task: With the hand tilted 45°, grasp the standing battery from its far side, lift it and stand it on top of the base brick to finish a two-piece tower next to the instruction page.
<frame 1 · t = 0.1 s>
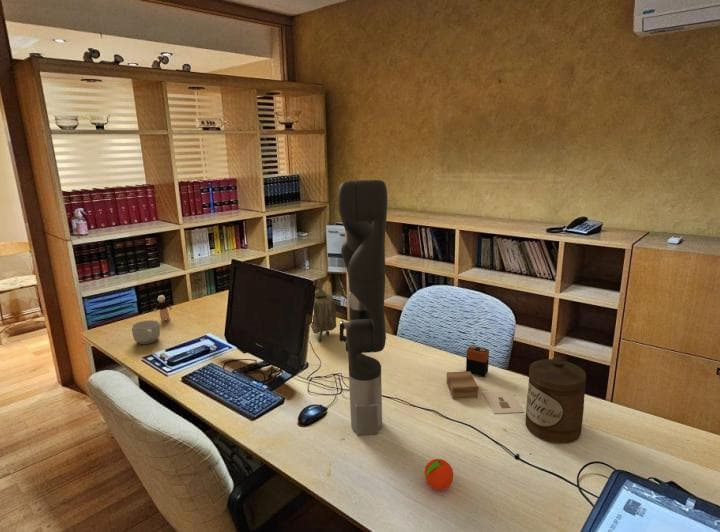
hand: (363, 351, 147), 17 cm above the table, tool pointing down, fingers open, 8 cm apart
grey brown tall figure: (323, 335, 201), on the table
instruction page: (502, 402, 148), on the table
clementine: (437, 487, 114), on the table
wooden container: (552, 428, 135), on the table
base brick: (461, 390, 156), on the table
grandmother figurine: (164, 321, 223), on the table
battery: (476, 373, 167), on the table
teacup: (148, 343, 200), on the table
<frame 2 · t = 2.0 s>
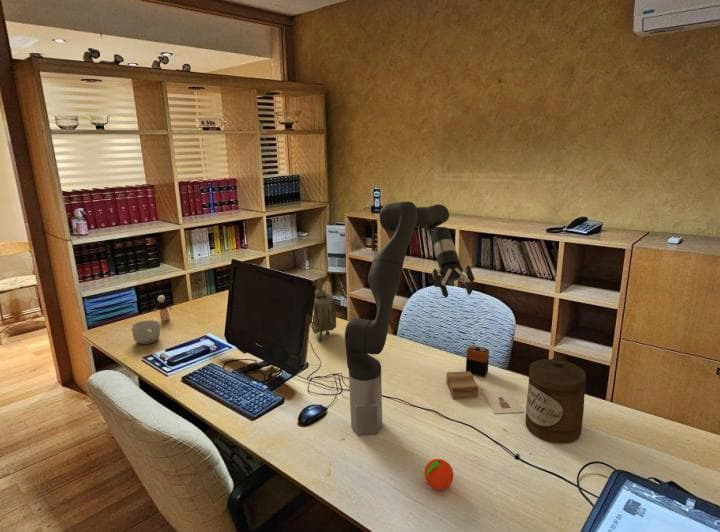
hand: (458, 295, 164), 27 cm above the table, tool tilted 45°, fingers open, 8 cm apart
nothing on the table moved.
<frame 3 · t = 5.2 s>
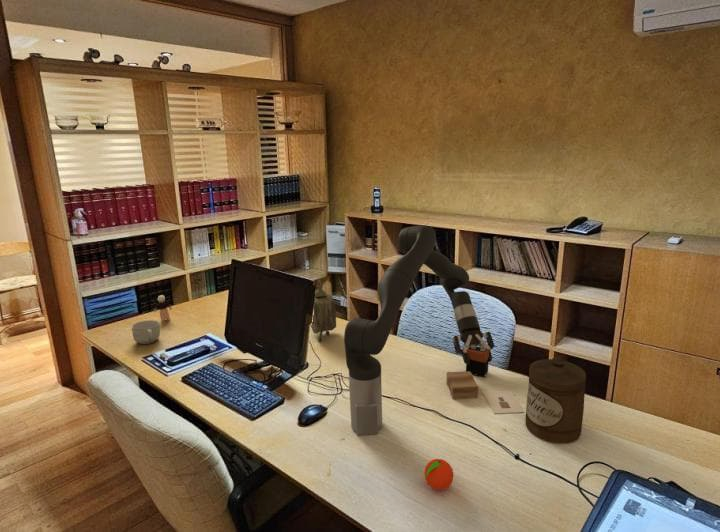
hand: (479, 362, 164), 5 cm above the table, tool tilted 45°, fingers closed on battery, 7 cm apart
battery: (476, 373, 167), on the table, touching gripper
everything else where it was.
when the fingers open (9 cm above the table, at t = 11.6 s): battery stays where it is, resting on base brick.
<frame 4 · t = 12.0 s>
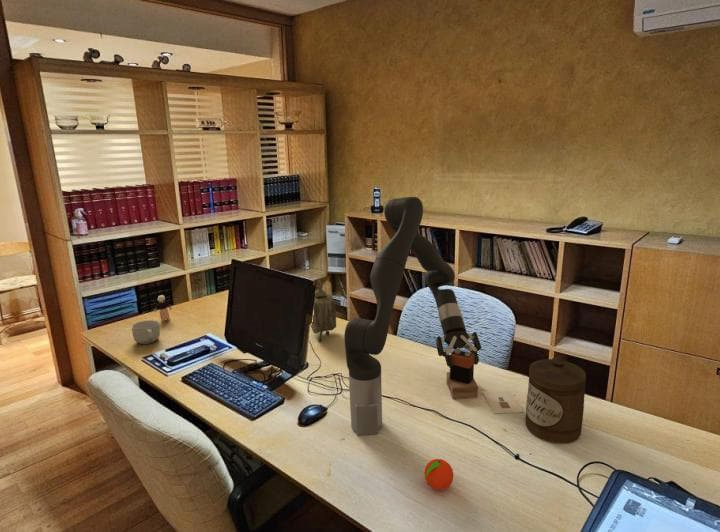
hand: (464, 365, 152), 10 cm above the table, tool tilted 45°, fingers open, 8 cm apart
battery: (461, 379, 155), point 4 cm above the table, touching base brick
everything else where it was.
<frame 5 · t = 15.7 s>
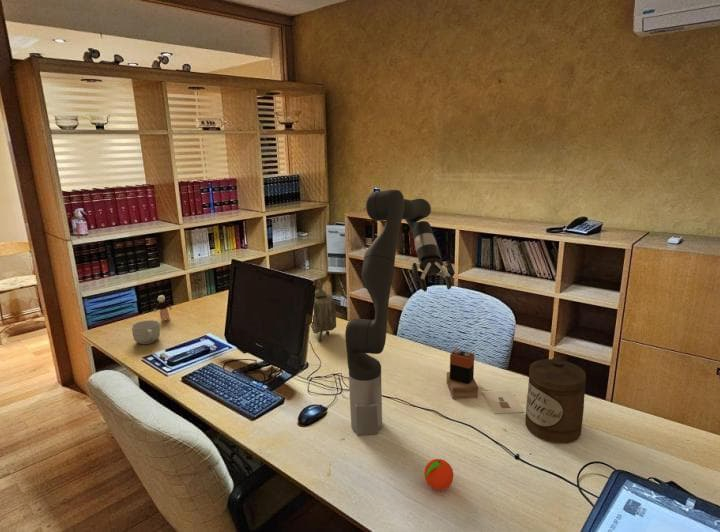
hand: (437, 289, 160), 31 cm above the table, tool tilted 45°, fingers open, 8 cm apart
nothing on the table moved.
at the end: battery touching base brick; battery tilted 0° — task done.
